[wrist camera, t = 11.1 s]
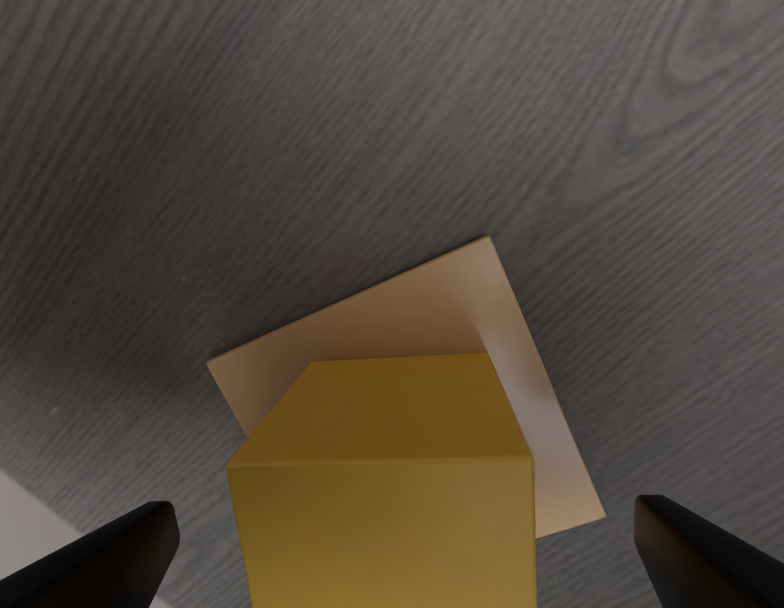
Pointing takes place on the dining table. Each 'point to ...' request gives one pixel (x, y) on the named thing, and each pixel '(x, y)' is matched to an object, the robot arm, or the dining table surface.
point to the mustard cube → (389, 489)
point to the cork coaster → (422, 338)
